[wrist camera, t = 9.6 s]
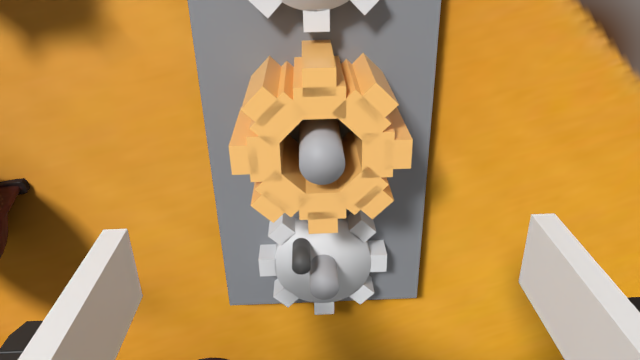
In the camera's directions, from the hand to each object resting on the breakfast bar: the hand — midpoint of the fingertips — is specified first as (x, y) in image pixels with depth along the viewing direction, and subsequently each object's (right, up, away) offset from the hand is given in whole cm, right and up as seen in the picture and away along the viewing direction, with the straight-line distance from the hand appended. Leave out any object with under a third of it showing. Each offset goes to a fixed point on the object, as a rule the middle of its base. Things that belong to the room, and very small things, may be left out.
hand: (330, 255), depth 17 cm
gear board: (-1, +6, +11) cm, 13 cm away
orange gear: (0, +6, +10) cm, 12 cm away
